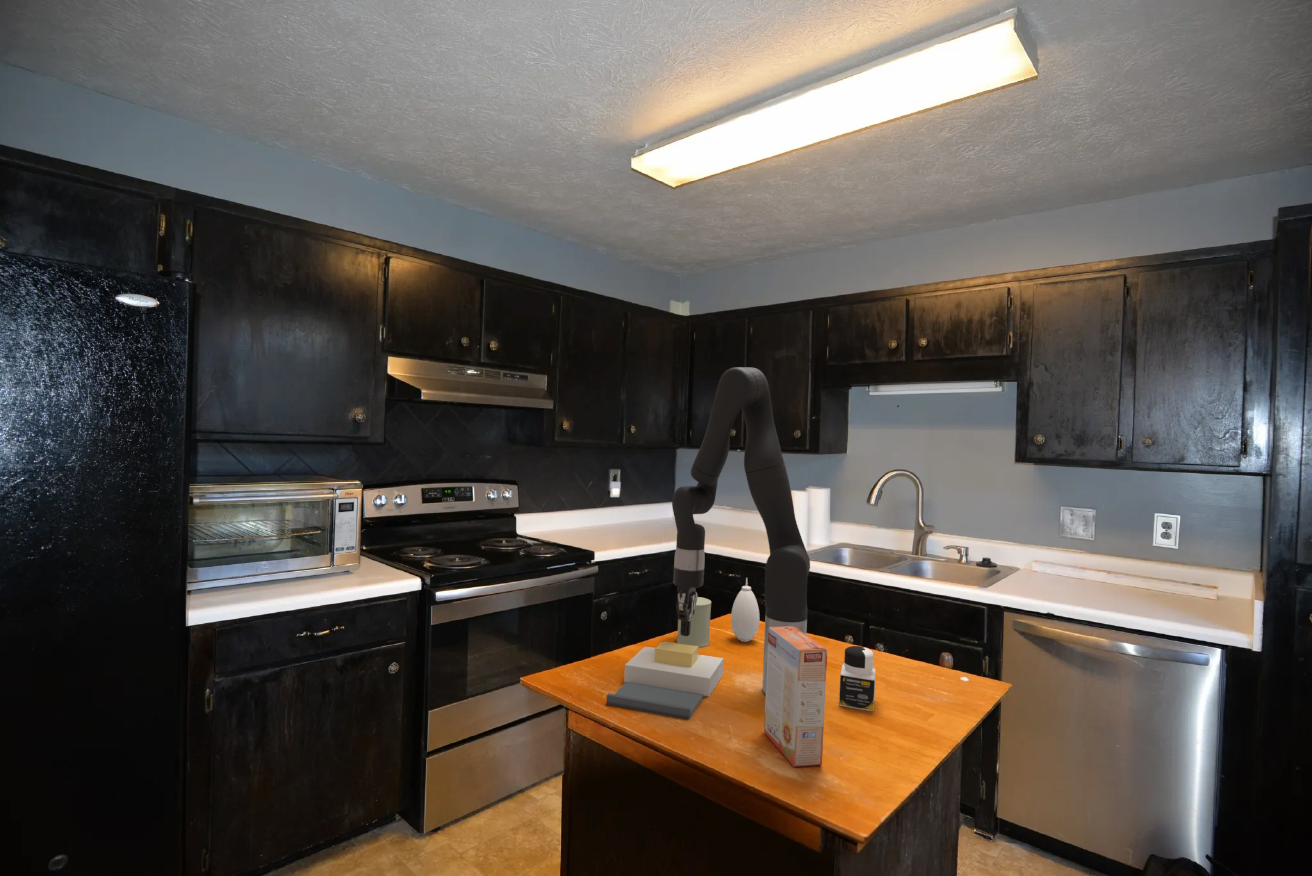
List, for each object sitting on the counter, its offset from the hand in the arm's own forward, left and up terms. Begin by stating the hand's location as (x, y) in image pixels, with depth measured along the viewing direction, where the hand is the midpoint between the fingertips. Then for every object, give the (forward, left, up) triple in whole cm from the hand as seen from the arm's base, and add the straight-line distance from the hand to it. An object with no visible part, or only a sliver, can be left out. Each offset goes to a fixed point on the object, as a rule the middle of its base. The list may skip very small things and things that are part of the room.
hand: (685, 635), depth 162 cm
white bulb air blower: (-10, -25, -8) cm, 29 cm away
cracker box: (-30, +34, -8) cm, 46 cm away
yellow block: (0, +9, -2) cm, 9 cm away
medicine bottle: (-41, +7, -8) cm, 43 cm away
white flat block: (0, +10, -8) cm, 12 cm away
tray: (0, +24, -8) cm, 25 cm away
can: (+3, -18, -8) cm, 20 cm away
